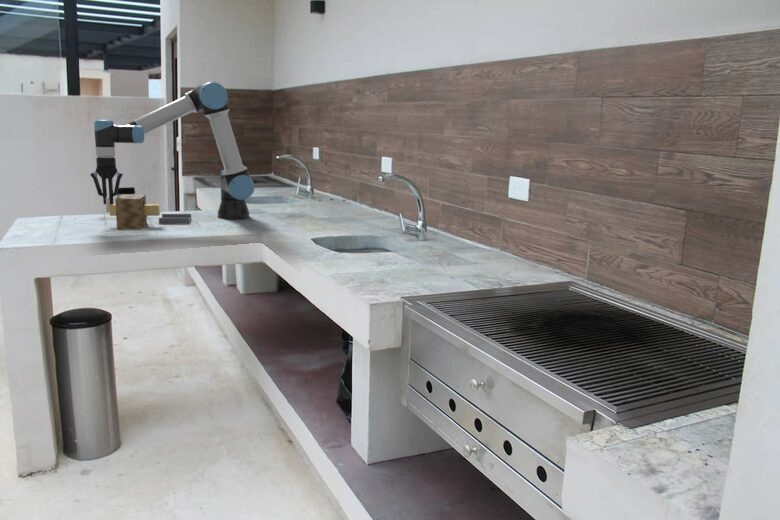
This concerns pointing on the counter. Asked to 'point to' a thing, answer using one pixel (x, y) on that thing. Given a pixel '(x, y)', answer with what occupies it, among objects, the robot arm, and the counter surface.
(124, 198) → the wooden block
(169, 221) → the saddle tray
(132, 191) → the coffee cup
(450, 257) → the counter surface
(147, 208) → the brass bar
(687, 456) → the counter surface
